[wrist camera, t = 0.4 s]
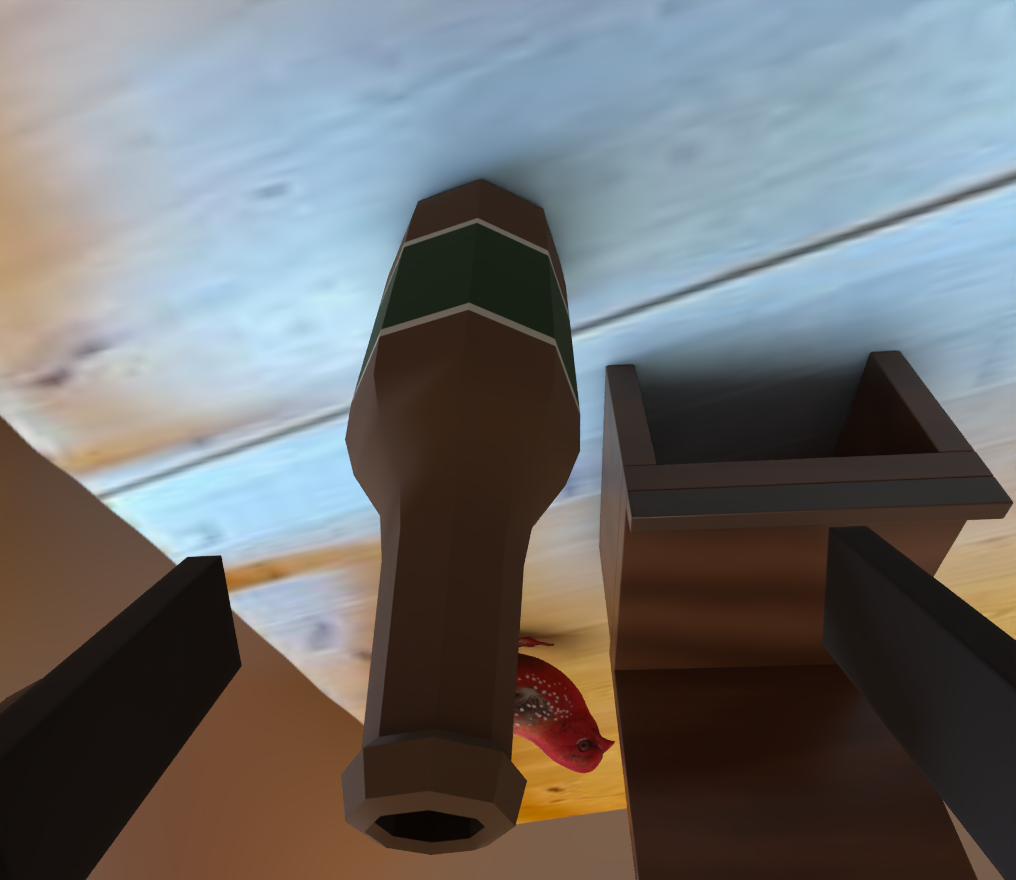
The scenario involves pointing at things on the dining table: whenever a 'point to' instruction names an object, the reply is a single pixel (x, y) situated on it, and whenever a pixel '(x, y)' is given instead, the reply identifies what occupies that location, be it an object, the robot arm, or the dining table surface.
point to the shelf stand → (772, 642)
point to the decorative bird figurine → (555, 714)
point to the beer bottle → (457, 509)
